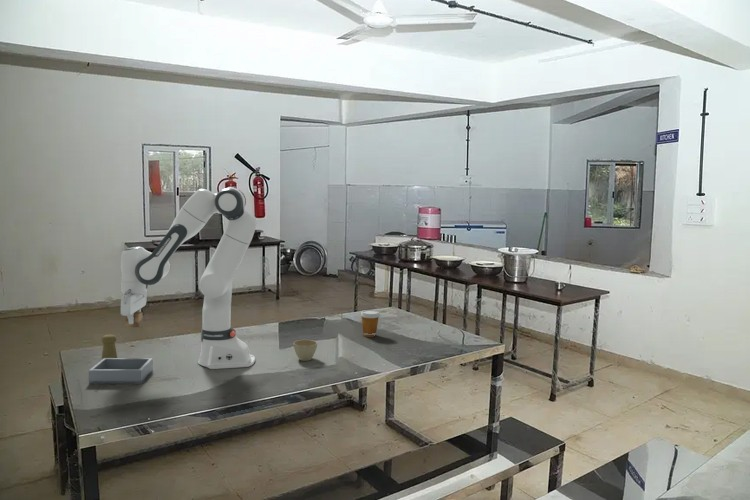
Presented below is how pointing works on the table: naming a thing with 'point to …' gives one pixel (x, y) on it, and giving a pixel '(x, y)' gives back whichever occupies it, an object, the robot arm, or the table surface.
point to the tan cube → (135, 320)
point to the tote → (121, 371)
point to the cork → (109, 346)
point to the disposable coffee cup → (369, 321)
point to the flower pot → (305, 349)
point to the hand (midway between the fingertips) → (134, 321)
